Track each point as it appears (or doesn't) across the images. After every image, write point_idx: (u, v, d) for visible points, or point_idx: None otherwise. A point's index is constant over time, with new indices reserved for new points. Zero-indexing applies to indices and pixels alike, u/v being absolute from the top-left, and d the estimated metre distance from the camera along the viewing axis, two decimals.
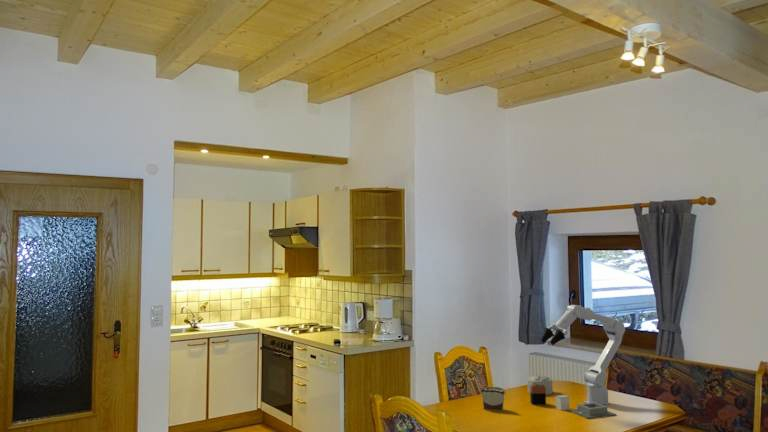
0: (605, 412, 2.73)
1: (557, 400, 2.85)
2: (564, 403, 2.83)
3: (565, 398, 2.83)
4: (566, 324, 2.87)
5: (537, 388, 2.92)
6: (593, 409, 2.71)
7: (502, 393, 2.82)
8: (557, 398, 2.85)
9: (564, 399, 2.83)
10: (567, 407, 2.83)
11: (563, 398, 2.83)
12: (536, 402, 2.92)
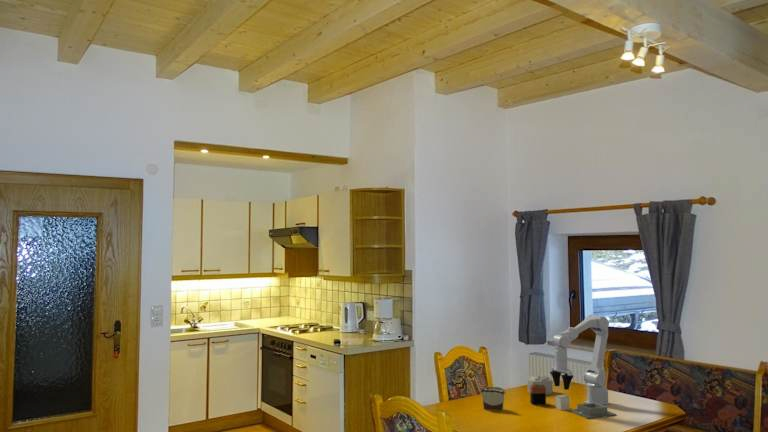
0: (605, 412, 2.73)
1: (557, 400, 2.85)
2: (564, 403, 2.83)
3: (565, 398, 2.83)
4: (564, 362, 2.83)
5: (537, 388, 2.92)
6: (593, 409, 2.71)
7: (502, 393, 2.82)
8: (557, 398, 2.85)
9: (564, 399, 2.83)
10: (567, 407, 2.83)
11: (563, 398, 2.83)
12: (536, 402, 2.92)
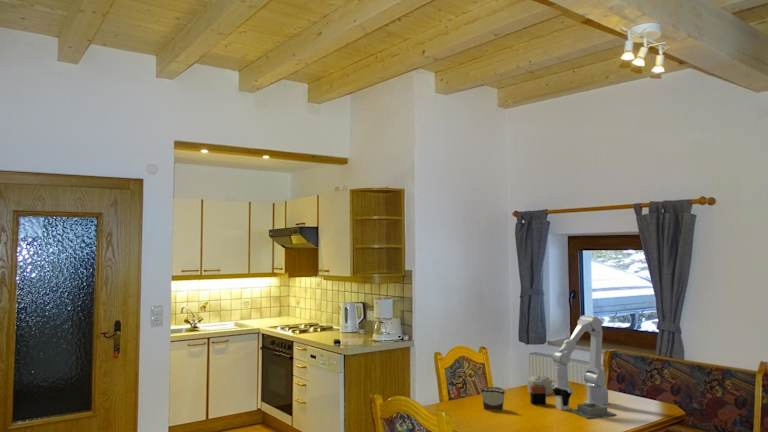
0: (605, 412, 2.73)
1: (557, 400, 2.85)
2: None
3: None
4: (565, 379, 2.83)
5: (537, 388, 2.92)
6: (593, 409, 2.71)
7: (502, 393, 2.82)
8: (557, 398, 2.85)
9: None
10: (567, 407, 2.83)
11: None
12: (536, 402, 2.92)
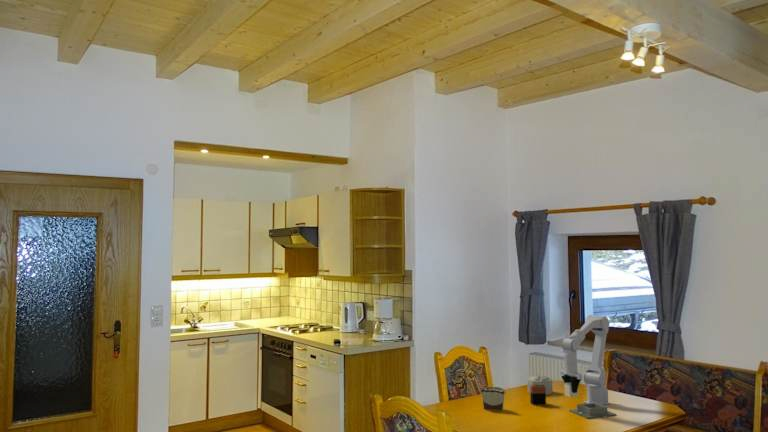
0: (605, 412, 2.73)
1: (566, 387, 2.82)
2: None
3: None
4: (574, 365, 2.80)
5: (537, 388, 2.92)
6: (593, 409, 2.71)
7: (502, 393, 2.82)
8: (566, 385, 2.82)
9: None
10: (576, 394, 2.81)
11: None
12: (536, 402, 2.92)
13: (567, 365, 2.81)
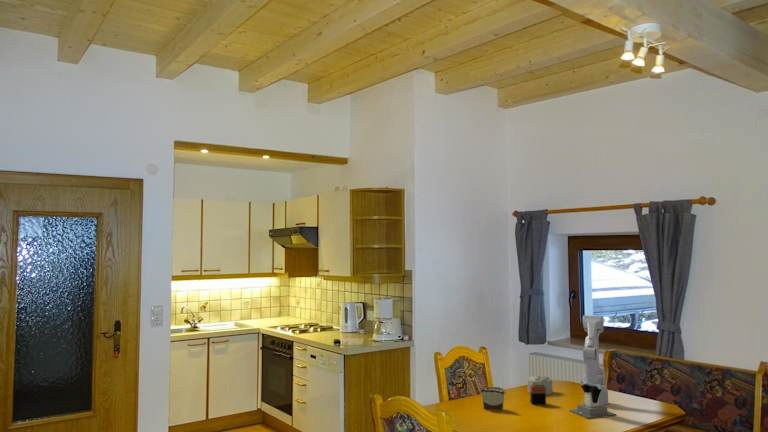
0: (605, 412, 2.73)
1: (586, 396, 2.76)
2: None
3: None
4: (595, 375, 2.74)
5: (537, 388, 2.92)
6: (593, 409, 2.71)
7: (502, 393, 2.82)
8: (586, 395, 2.76)
9: None
10: (597, 404, 2.75)
11: None
12: (536, 402, 2.92)
13: (587, 374, 2.75)
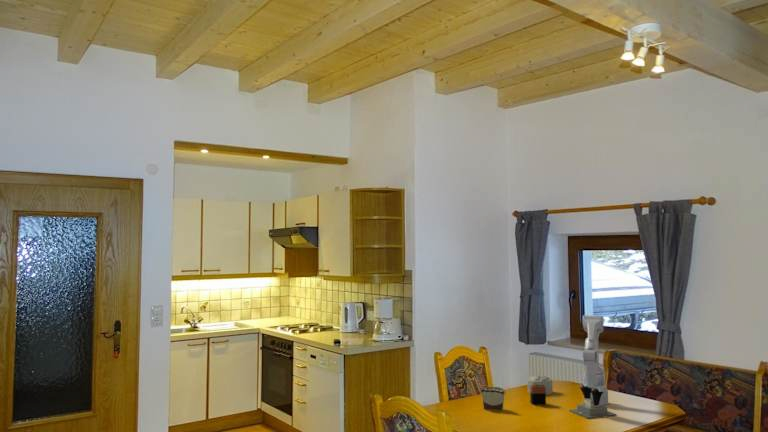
0: (605, 412, 2.73)
1: (586, 403, 2.76)
2: (594, 406, 2.74)
3: None
4: (595, 377, 2.74)
5: (537, 388, 2.92)
6: (593, 409, 2.71)
7: (502, 393, 2.82)
8: (586, 401, 2.76)
9: None
10: None
11: None
12: (536, 402, 2.92)
13: (587, 377, 2.75)
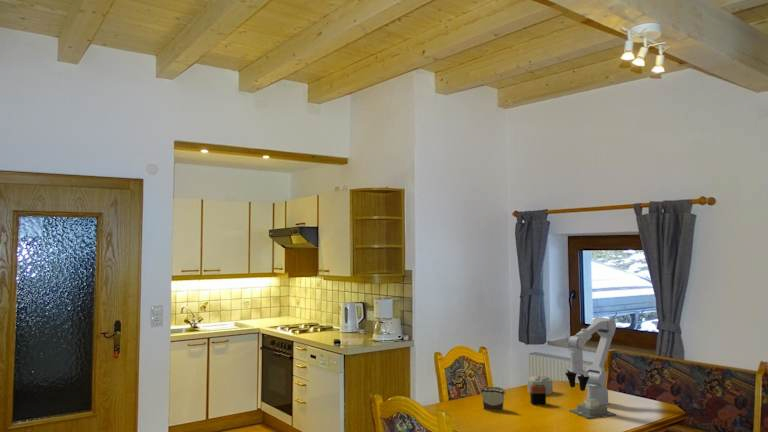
0: (605, 412, 2.73)
1: (586, 403, 2.76)
2: (594, 406, 2.74)
3: (595, 401, 2.74)
4: (580, 363, 2.84)
5: (537, 388, 2.92)
6: (593, 409, 2.71)
7: (502, 393, 2.82)
8: (586, 401, 2.76)
9: (594, 402, 2.74)
10: None
11: (593, 401, 2.74)
12: (536, 402, 2.92)
13: (573, 363, 2.85)
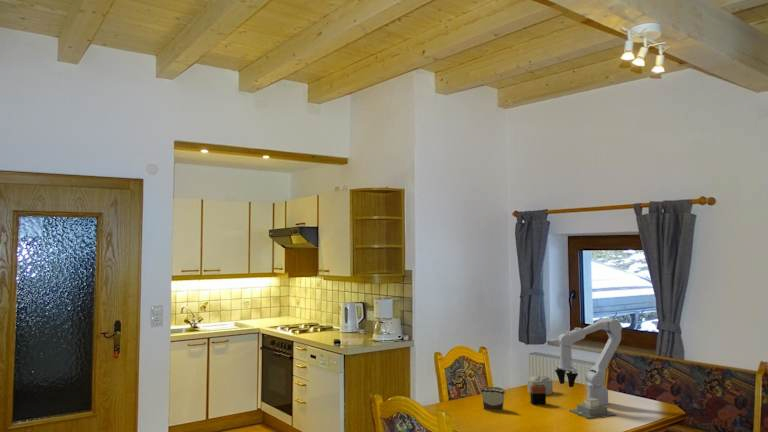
0: (605, 412, 2.73)
1: (586, 403, 2.76)
2: (594, 406, 2.74)
3: (595, 401, 2.74)
4: (569, 360, 2.91)
5: (537, 388, 2.92)
6: (593, 409, 2.71)
7: (502, 393, 2.82)
8: (586, 401, 2.76)
9: (594, 402, 2.74)
10: None
11: (593, 401, 2.74)
12: (536, 402, 2.92)
13: (562, 360, 2.92)
